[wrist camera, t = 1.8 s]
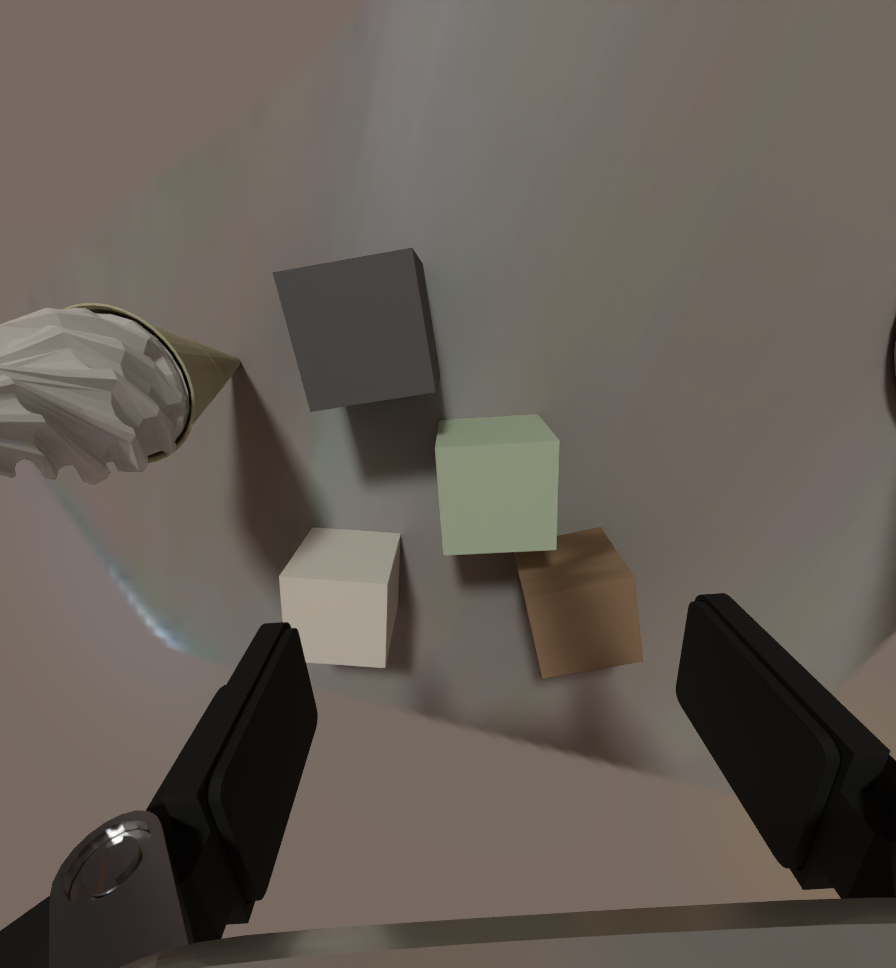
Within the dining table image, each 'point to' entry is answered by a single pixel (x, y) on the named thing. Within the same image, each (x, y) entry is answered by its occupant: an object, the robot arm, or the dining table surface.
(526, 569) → the walnut block
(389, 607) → the offwhite block
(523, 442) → the sage block
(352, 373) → the black block
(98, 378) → the ice cream cone
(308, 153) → the dining table surface
